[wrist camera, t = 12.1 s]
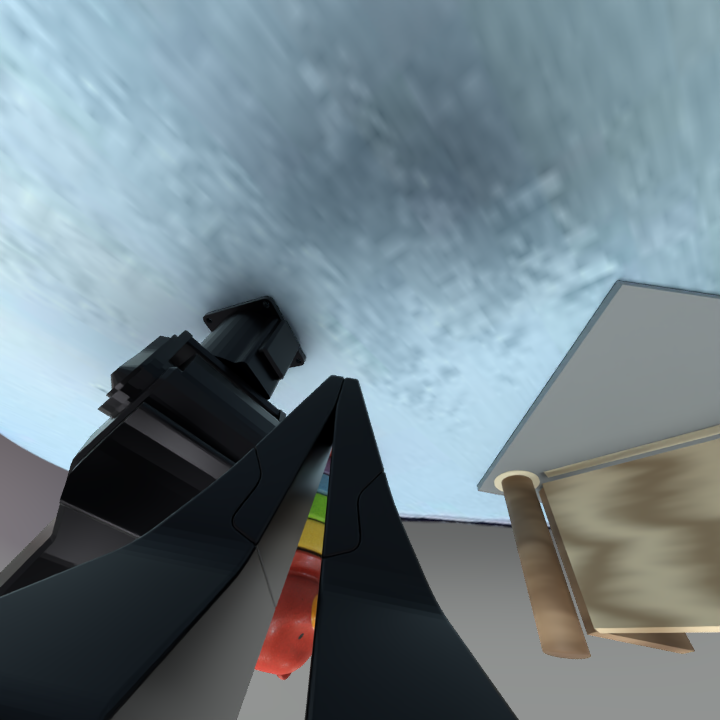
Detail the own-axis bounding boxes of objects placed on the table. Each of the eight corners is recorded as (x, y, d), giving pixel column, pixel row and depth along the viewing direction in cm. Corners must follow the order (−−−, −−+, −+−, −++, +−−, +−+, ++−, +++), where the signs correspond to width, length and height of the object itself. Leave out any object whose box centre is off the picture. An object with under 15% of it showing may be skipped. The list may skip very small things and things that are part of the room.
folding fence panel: (547, 489, 30) (600, 633, 21) (542, 483, 29) (594, 628, 21) (786, 431, 21) (1028, 628, 13) (784, 421, 21) (1033, 620, 13)
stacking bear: (380, 480, 36) (360, 699, 22) (306, 483, 39) (249, 678, 25) (350, 421, 30) (297, 670, 16) (266, 431, 33) (162, 648, 20)
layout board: (477, 485, 34) (478, 491, 34) (617, 280, 18) (623, 285, 18) (638, 515, 33) (642, 521, 33) (929, 326, 18) (946, 333, 17)
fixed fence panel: (496, 486, 33) (535, 652, 22) (508, 471, 31) (555, 645, 20) (599, 505, 32) (686, 683, 22) (617, 491, 30) (722, 679, 20)
